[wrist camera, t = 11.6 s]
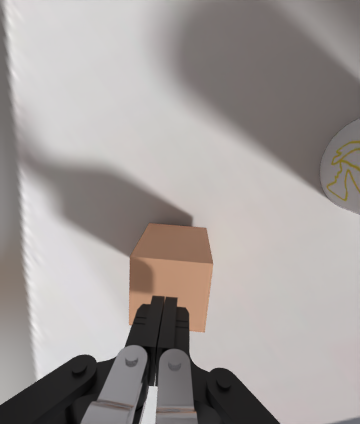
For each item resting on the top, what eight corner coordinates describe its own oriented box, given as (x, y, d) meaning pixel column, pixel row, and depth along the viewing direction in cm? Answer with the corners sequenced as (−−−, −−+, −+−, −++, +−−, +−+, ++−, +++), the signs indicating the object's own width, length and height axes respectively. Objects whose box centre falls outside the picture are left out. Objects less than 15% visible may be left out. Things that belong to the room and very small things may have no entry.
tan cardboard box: (206, 227, 20) (213, 263, 14) (200, 278, 21) (204, 332, 15) (149, 223, 20) (129, 256, 14) (147, 273, 22) (129, 325, 15)
